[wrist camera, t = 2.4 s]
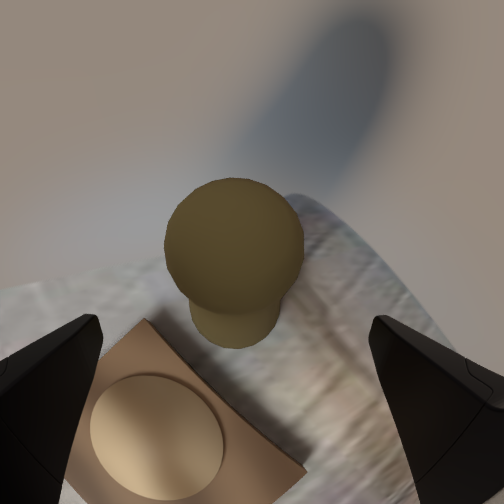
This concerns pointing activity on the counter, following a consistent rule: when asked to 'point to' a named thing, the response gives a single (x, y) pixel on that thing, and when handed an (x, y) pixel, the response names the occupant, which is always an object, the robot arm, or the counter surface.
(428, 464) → the robot arm
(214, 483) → the plate
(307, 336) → the counter surface
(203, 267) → the pepper shaker
